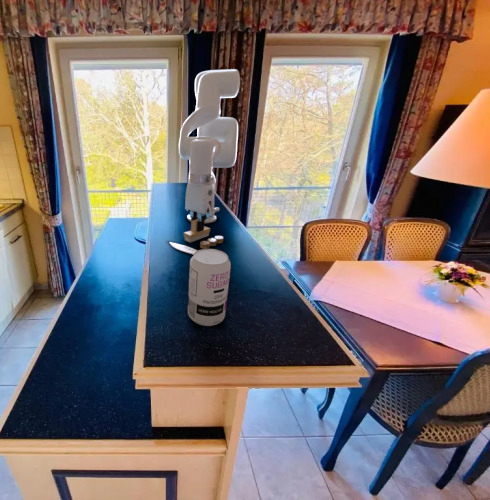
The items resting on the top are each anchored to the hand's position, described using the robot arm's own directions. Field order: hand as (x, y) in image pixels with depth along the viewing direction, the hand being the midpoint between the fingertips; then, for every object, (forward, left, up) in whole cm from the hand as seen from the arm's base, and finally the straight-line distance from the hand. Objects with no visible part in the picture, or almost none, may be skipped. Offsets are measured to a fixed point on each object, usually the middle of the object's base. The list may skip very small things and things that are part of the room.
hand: (197, 229), depth 102 cm
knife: (+13, +12, -4) cm, 17 cm away
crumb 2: (-4, +7, -3) cm, 9 cm away
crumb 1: (+4, +7, -3) cm, 9 cm away
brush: (0, 0, -3) cm, 3 cm away
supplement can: (+31, +33, -4) cm, 45 cm away
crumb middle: (0, +7, -3) cm, 8 cm away
